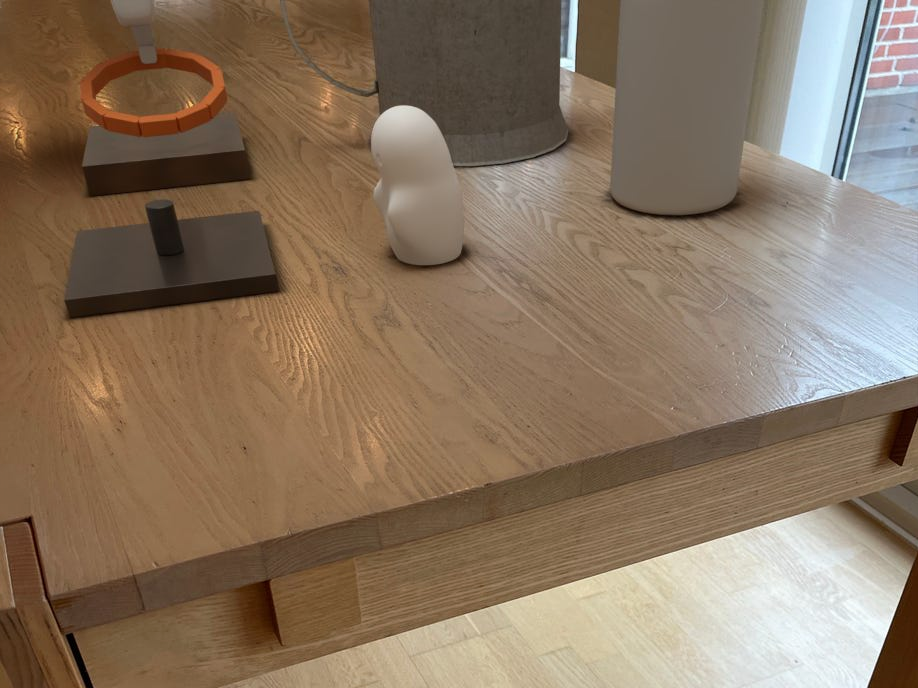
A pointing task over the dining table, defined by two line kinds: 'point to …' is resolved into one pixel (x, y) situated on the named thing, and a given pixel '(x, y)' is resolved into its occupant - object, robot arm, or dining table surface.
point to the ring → (156, 123)
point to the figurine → (417, 187)
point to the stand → (165, 158)
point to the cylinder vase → (682, 102)
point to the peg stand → (168, 262)
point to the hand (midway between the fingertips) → (150, 59)
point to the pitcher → (470, 72)
